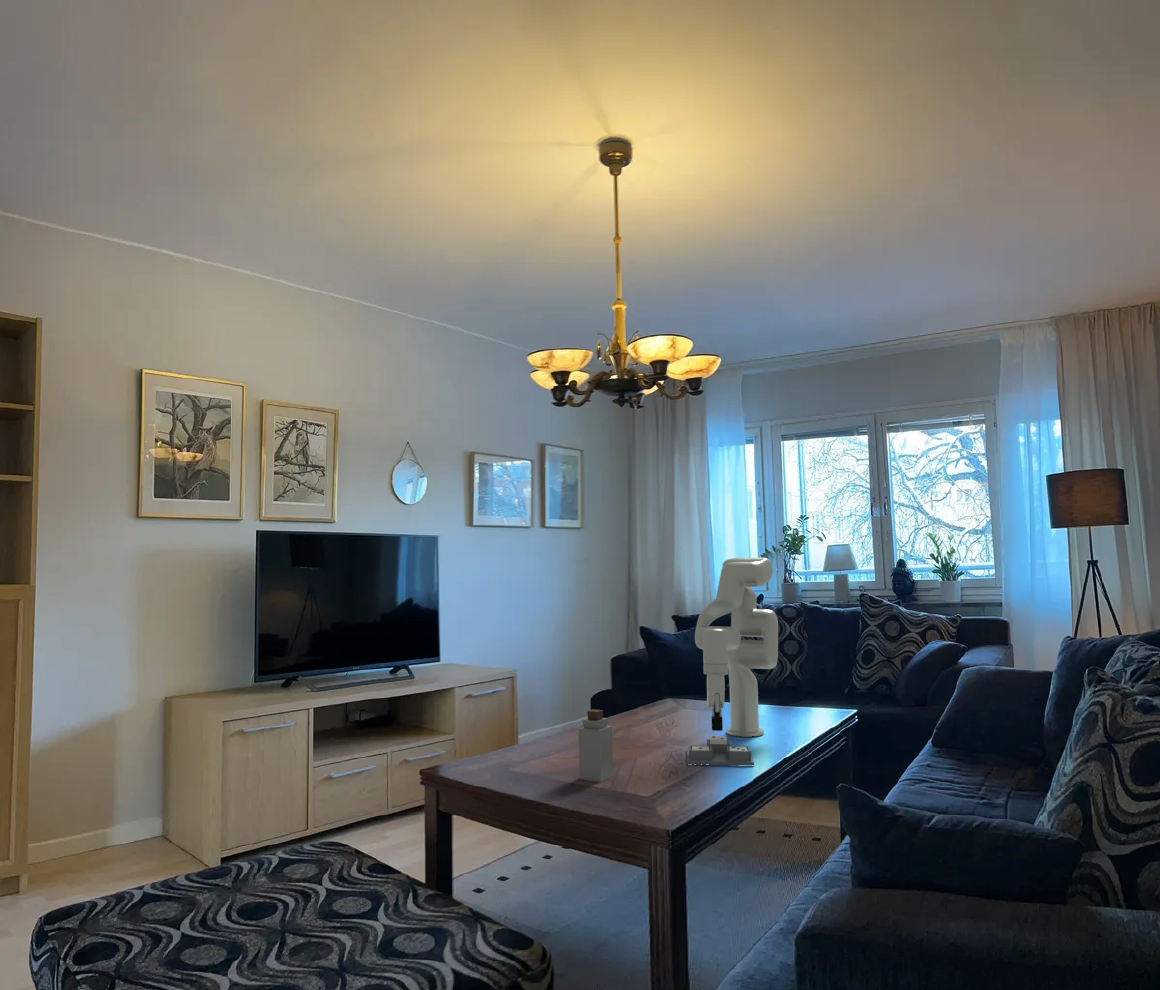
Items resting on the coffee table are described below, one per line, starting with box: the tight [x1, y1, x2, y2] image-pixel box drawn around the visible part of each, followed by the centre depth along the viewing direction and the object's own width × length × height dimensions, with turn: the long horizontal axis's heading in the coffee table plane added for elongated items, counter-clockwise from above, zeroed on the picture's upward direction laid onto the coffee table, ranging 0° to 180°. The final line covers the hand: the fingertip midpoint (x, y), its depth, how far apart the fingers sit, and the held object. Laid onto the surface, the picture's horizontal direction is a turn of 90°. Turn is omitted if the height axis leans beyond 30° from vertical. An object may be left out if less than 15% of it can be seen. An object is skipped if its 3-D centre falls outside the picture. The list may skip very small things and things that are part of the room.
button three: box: [729, 747, 748, 751], centre depth 232 cm, size 5×5×2 cm
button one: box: [691, 745, 709, 750], centre depth 233 cm, size 5×5×2 cm
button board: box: [686, 739, 755, 766], centre depth 237 cm, size 18×19×4 cm
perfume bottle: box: [578, 708, 614, 783], centre depth 218 cm, size 7×7×18 cm
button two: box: [708, 735, 728, 744], centre depth 241 cm, size 5×5×2 cm
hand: (717, 730), depth 241 cm, fingers closed
